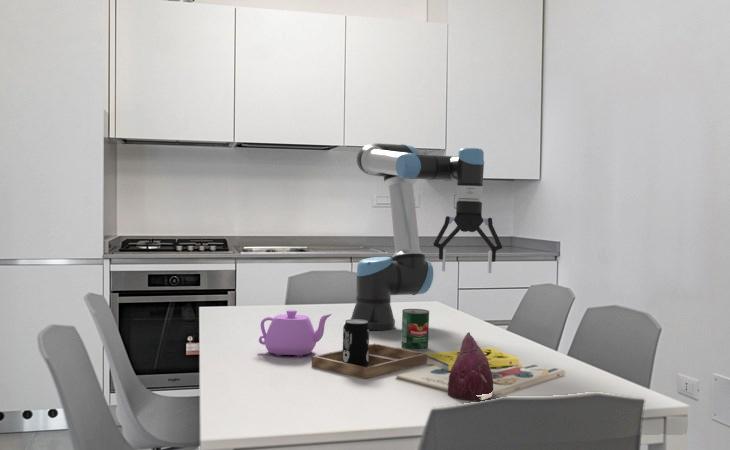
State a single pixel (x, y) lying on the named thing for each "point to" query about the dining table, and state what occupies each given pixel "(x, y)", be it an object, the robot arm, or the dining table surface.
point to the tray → (371, 361)
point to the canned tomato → (415, 329)
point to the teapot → (291, 334)
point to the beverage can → (356, 342)
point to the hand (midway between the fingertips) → (466, 271)
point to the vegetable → (470, 372)
